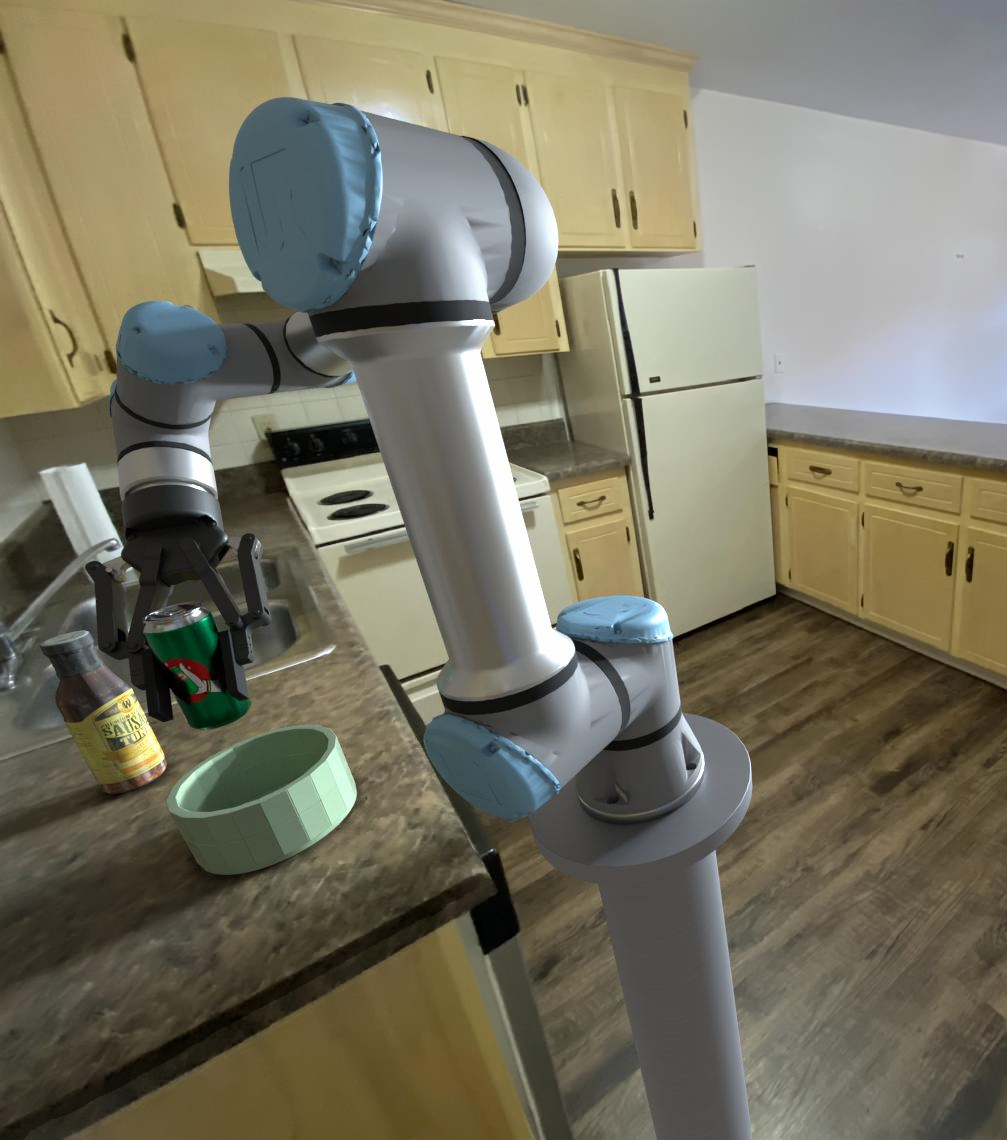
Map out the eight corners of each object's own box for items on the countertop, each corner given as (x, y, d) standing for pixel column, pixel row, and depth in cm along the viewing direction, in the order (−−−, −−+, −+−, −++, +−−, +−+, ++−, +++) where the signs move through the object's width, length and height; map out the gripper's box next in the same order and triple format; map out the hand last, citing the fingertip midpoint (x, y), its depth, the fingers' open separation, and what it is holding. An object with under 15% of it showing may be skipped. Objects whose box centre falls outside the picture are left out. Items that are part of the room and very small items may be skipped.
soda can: (235, 699, 66) (187, 597, 61) (265, 707, 64) (218, 602, 59) (179, 728, 61) (123, 620, 57) (209, 737, 59) (154, 626, 55)
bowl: (358, 759, 78) (339, 710, 75) (355, 833, 66) (332, 778, 63) (213, 807, 72) (186, 755, 69) (181, 899, 60) (146, 840, 57)
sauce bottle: (142, 794, 75) (60, 651, 67) (89, 799, 75) (1, 656, 67) (185, 758, 81) (114, 623, 73) (135, 763, 81) (59, 628, 73)
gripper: (286, 503, 73) (325, 686, 65) (77, 538, 64) (95, 750, 57) (263, 466, 66) (302, 663, 59) (28, 499, 58) (41, 732, 51)
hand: (200, 706), depth 58 cm, fingers closed on soda can, 5 cm apart
